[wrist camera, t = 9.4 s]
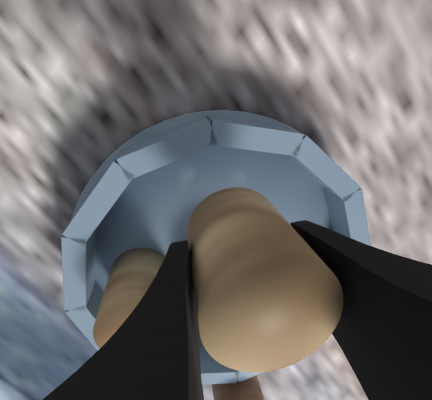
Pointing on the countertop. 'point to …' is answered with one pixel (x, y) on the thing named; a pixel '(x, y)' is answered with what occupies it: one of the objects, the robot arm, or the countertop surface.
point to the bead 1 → (125, 290)
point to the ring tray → (196, 199)
